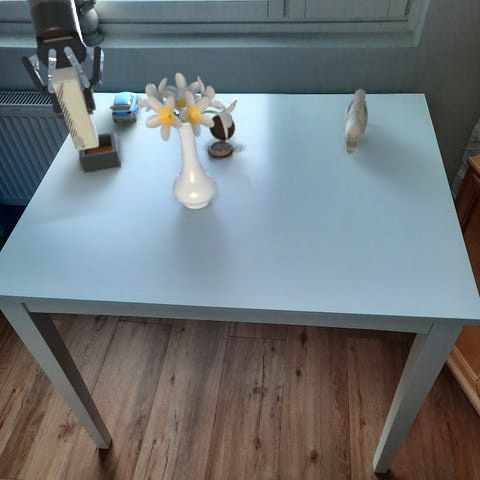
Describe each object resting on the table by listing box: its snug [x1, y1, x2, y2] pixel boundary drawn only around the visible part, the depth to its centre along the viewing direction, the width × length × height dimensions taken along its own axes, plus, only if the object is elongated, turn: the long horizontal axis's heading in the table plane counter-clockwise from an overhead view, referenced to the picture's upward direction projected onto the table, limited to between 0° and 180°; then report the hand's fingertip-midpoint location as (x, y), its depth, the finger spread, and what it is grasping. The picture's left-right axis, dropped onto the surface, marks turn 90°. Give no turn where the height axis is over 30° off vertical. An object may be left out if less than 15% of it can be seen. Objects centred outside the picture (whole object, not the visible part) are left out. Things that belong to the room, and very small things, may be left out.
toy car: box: [109, 91, 140, 124], centre depth 121 cm, size 6×12×6 cm, turn 2°
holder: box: [78, 131, 122, 174], centre depth 110 cm, size 8×8×4 cm
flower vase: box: [136, 72, 238, 210], centre depth 92 cm, size 13×18×25 cm
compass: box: [206, 114, 242, 160], centre depth 109 cm, size 8×8×7 cm
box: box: [51, 67, 99, 151], centre depth 84 cm, size 5×4×13 cm
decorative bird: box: [342, 88, 369, 155], centre depth 110 cm, size 5×16×7 cm, turn 166°
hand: (76, 114), depth 83 cm, fingers closed on box, 4 cm apart
